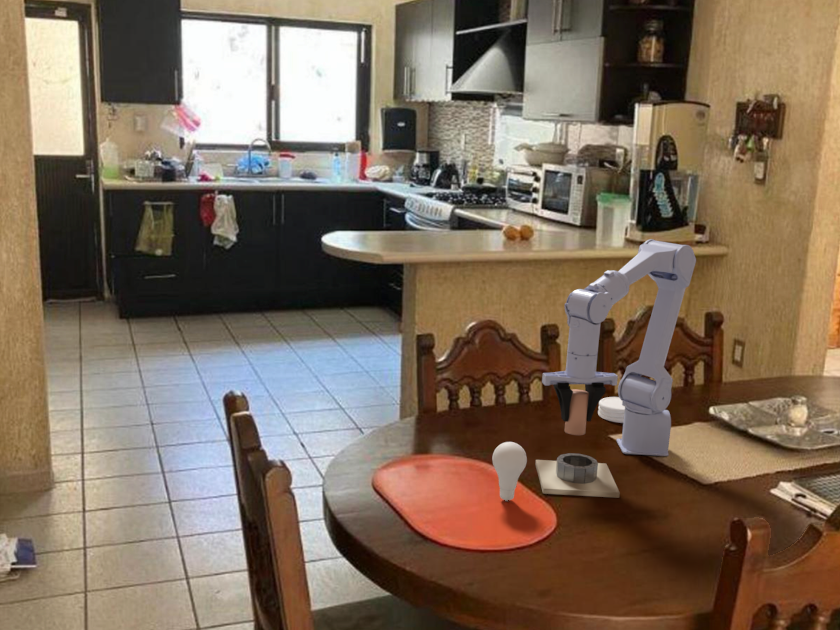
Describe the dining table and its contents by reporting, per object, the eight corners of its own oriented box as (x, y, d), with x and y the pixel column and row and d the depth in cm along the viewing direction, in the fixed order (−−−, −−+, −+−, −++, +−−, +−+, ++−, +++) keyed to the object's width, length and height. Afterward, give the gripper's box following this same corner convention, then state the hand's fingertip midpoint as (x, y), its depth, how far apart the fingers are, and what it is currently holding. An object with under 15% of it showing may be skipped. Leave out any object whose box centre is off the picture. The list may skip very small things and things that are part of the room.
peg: (581, 428, 176) (584, 389, 175) (588, 435, 172) (591, 395, 171) (561, 428, 176) (565, 389, 174) (568, 435, 172) (571, 395, 170)
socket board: (605, 468, 178) (607, 449, 177) (619, 497, 164) (621, 477, 163) (535, 464, 178) (536, 445, 177) (543, 493, 164) (544, 473, 163)
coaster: (608, 407, 217) (609, 393, 216) (647, 416, 211) (648, 402, 210) (590, 417, 209) (591, 403, 208) (630, 427, 203) (632, 412, 202)
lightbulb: (501, 510, 156) (505, 451, 154) (483, 496, 162) (487, 439, 159) (530, 504, 159) (534, 446, 157) (511, 491, 165) (515, 435, 162)
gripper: (610, 347, 176) (603, 412, 179) (539, 346, 173) (534, 413, 176) (624, 356, 169) (617, 424, 172) (551, 356, 166) (545, 425, 169)
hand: (576, 419), depth 173 cm, fingers closed on peg, 4 cm apart
